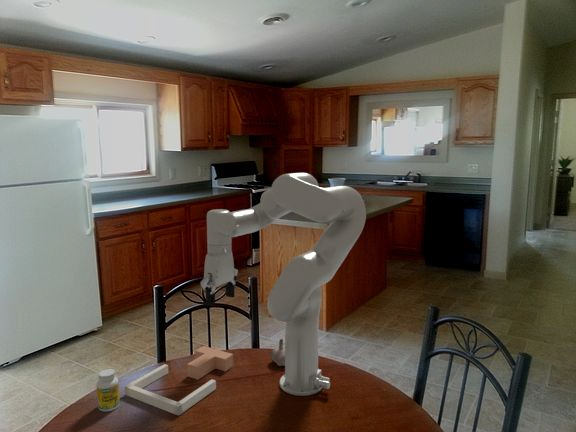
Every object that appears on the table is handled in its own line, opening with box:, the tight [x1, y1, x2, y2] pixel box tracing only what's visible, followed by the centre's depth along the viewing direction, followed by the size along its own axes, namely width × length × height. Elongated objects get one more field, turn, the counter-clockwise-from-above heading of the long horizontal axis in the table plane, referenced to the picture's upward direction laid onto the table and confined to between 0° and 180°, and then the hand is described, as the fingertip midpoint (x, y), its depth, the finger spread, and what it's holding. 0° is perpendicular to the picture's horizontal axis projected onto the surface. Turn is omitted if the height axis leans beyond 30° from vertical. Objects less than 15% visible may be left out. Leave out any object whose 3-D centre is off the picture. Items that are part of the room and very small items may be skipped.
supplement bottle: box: [96, 368, 121, 412], centre depth 117 cm, size 5×5×10 cm
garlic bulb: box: [270, 338, 285, 367], centre depth 141 cm, size 8×7×8 cm
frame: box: [124, 363, 217, 417], centre depth 124 cm, size 20×15×2 cm
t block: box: [186, 345, 234, 380], centre depth 137 cm, size 12×12×4 cm
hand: (220, 300), depth 142 cm, fingers open, 9 cm apart
